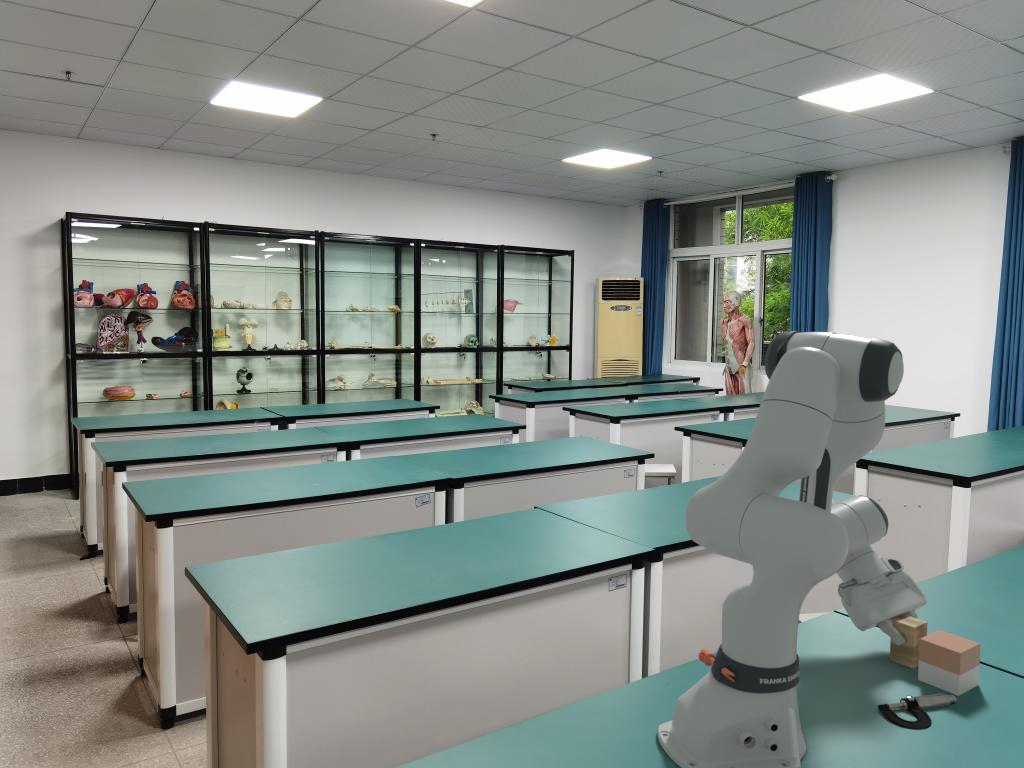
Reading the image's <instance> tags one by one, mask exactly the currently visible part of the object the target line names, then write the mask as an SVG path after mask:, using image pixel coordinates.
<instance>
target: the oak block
mask: <svg viewBox="0 0 1024 768" xmlns="http://www.w3.org/2000/svg"><path fill="white" fill-rule="evenodd" d="M891 622H892V623H893V625H892V626H893V627H894V628H895V629H896V630H898V631H899V632H900V633H901V632H903V634H904V635H905V637H906V638H907V640H908V641H907V642H906V643H904V644H902V645H899V646H898V645H896V643H895V642H894V641H893V639H892V638H891V637H890V644H889V646H890V647H889V660H890V661H893V662H896V663H899V664H900V665H903V666H906V667H908V668H910V669H915V668H917V666H919V644H920V638H923V637H925V636H927V635H928V624H929V622H928V621H925V620H922V619H919V618H918V619H917V618H914V617H911V616H908V615H905V614H904V615H901V616H899V617H896V618H893V619H891Z"/></svg>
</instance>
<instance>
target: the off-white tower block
mask: <svg viewBox="0 0 1024 768" xmlns="http://www.w3.org/2000/svg"><path fill="white" fill-rule="evenodd" d="M917 670H918V671H917V672H918V673H917V680H918V681H921V682H923V683H925V684H927V685H928V684H929V685H930V686H933V687H936V688H938V689H940V690H943V691H946V692H947V693H950V694H951V695H954V696H957V697H959V696H962V695H963V694H965V693H967V692H969V691H970V690H972V689H974V688H976V687H978V686H979V679H980V678H979V677H980V665H979V666H977V667H975V668H973V669H971V670H969V671H967V672H966V673H964V674H962V675H957V674H954V673H952V672H949V671H947V670H944V669H941V668H939V667H936V666H933V665H931V664H928V663H925V662H923V661H920V660H919V666H918V669H917Z"/></svg>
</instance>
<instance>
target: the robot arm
mask: <svg viewBox="0 0 1024 768" xmlns="http://www.w3.org/2000/svg"><path fill="white" fill-rule="evenodd" d="M904 368H905V365H904V360H903V354H902V352H901V350H900V348H899V347H898V346H897V345H896V344H895V342H892V341H890V340H887V339H883V338H878V337H873V338H868V337H863V336H859V335H857V336H856V335H851V334H841V333H837V332H833V331H832V332H831V331H830V332H827V331H804V332H800V331H799V330H793V331H792V330H791V331H790V330H789V331H786V332H781V333H778V335H776V336H775V337H774V338H773V339H772V340H771V341H770V342H769V344H768V346H767V348H766V351H765V355H764V372H765V375H766V377H767V378H768V383H767V386H766V388H765V389H764V393H763V396H762V398H761V400H760V401H761V402H760V404H759V408H758V410H757V415H756V418H755V420H754V423H753V425H752V429H751V430H750V433H749V436H748V439H747V441H746V443H745V446H744V447H743V450H742V452H741V453H740V455H739V456H738V457H737V458H736V460H735V461H734V463H733V464H732V465H731V466H730V467H729V468H728V469H727V471H726V472H725V473H723V474H722V475H721V476H720V477H719V478H718V479H716V480H715V481H713V482H712V483H710V484H708V485H706V486H703V487H701V488H699V489H698V490H696V491H695V493H694V494H693V495H692V496H691V497H690V499H689V500H688V502H687V505H686V508H685V511H684V525H685V529H686V532H687V534H688V536H689V538H690V539H691V540H692V541H693V542H694V543H696V544H698V545H699V546H701V547H703V548H704V549H706V550H708V551H710V552H712V553H714V554H715V555H719V556H722V557H726V558H729V559H732V560H736V561H739V562H742V563H745V564H749V565H751V566H752V570H753V575H752V580H751V582H750V583H746V584H743V585H741V586H738V587H735V588H733V589H732V590H731V591H729V593H728V594H727V595H726V597H725V598H724V600H723V602H722V605H721V607H722V608H721V644H719V647H718V649H717V651H716V653H715V655H714V653H711V652H710V651H709V650H708V649H706V648H702V649H701V650H699V652H698V656H697V657H698V660H699V661H700V662H702V663H704V665H705V666H707V667H710V671H709V672H707V674H705V675H704V676H703V677H702V678H700V679H699V680H698V681H697V682H696V683H694V684H693V685H692V686H691V687H690V688H689V689H688V690H686V691H685V692H684V693H682V694H681V695H680V696H679V697H678V698H677V700H676V703H675V706H674V709H673V715H672V720H669V721H666V722H663V723H660V724H659V725H658V729H657V740H658V742H659V744H660V746H661V748H662V749H663V750H664V752H665V753H666V754H667V755H668V757H669V758H670V759H671V760H672V761H673V762H674V763H675V764H677V766H678V767H680V768H802V764H801V760H802V758H803V757H804V756H805V753H806V750H807V744H806V741H805V738H804V734H803V730H802V726H801V719H800V712H799V702H798V689H797V688H798V687H797V686H798V685H799V682H800V657H799V654H798V653H797V650H798V649H797V648H798V633H799V622H800V613H801V609H802V607H803V603H804V602H805V599H806V597H807V596H808V594H809V593H810V592H811V590H813V589H814V587H815V586H816V585H817V586H818V584H820V583H821V582H823V581H825V580H827V579H829V578H831V577H833V576H834V575H835V574H837V576H838V577H839V579H840V580H841V581H842V582H840V583H839V584H838V586H837V594H838V596H839V597H840V601H841V603H842V606H843V608H844V610H845V611H846V613H847V615H848V617H849V619H850V620H851V622H852V623H853V625H854V627H855V628H856V629H858V630H860V631H861V632H864V631H865V632H866V631H867V630H870V629H872V628H875V627H878V628H879V629H880V631H882V633H884V634H885V635H886V636H887V637H889V638H890V639H891V638H892V639H893V641H894V642H895V643H896V645H898V646H899V645H902V644H904V643H906V642H907V641H908V640H907V638H906V637H905V635H904V634H903V632H901V633H900V632H899V631H898V630H896V629H895V628H894V627H893V626H892V625H893V623H892V622H891V619H893V618H896V617H899V616H901V615H904V614H905V615H908V616H911V617H914V618H917V619H919V617H918V615H917V613H916V612H917V611H919V610H921V609H922V608H924V607H925V606H926V605H927V604H928V601H927V598H926V595H925V594H924V592H923V591H922V590H921V588H920V587H919V585H918V584H917V583H916V582H915V580H914V578H913V577H912V576H911V575H910V574H908V572H906V571H903V570H905V565H903V563H902V562H901V561H900V560H899V559H896V558H889V557H884V556H883V555H881V556H879V554H878V553H877V552H876V550H875V549H874V548H873V547H872V546H871V545H873V544H875V543H877V542H880V541H881V540H882V539H883V538H884V537H885V536H887V533H888V530H889V518H888V516H887V513H886V512H885V511H884V509H883V507H882V506H881V505H880V504H879V503H877V501H875V500H874V499H872V498H871V497H869V496H866V495H863V494H860V495H859V494H858V495H856V496H851V497H849V498H846V499H843V500H837V501H836V500H834V499H833V495H834V488H835V485H836V483H837V482H838V480H839V479H840V477H841V476H842V475H843V474H844V473H845V472H846V471H848V470H849V468H850V467H852V466H853V465H854V464H855V463H857V462H858V461H859V460H861V459H862V458H863V457H865V456H867V455H868V454H869V453H870V452H872V451H873V450H874V449H875V448H876V446H878V445H879V443H880V442H881V441H882V440H881V439H882V437H883V434H884V431H885V427H886V405H885V404H886V402H885V401H886V400H888V399H890V398H892V397H893V396H895V395H896V393H897V392H898V389H899V388H900V385H901V383H902V380H903V377H904V371H905V369H904ZM798 480H801V481H800V491H799V499H798V500H797V499H796V500H795V499H792V498H787V497H782V496H780V494H781V493H782V492H783V491H784V490H785V489H786V488H787V487H788V486H789V485H791V484H793V482H796V481H798Z"/></svg>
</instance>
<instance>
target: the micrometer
mask: <svg viewBox="0 0 1024 768" xmlns="http://www.w3.org/2000/svg"><path fill="white" fill-rule="evenodd" d="M956 703H957V697H956V695H955V694H949V695H947V693H945V692H941V693H940V692H939V693H934V694H925V695H919V696H912V695H910V694H907V695H906V696H905V697H904V698H901V699H899V702H896V703H889V704H888V703H884V704H883V703H882V704H878V705H877V710H878V711H879V712H881V713H882V714H883V716H884V718H885V719H886V720H887V721H888V722H890V723H891V724H894V725H896V726H898V727H901V728H905V729H909V730H917V731H918V730H920V731H921V730H926V729H929V728H930V727H931V726H932V719H931V717H930V715H929V714H928V713H927V712H926V711H925V709H926V710H927V709H934V708H939V707H940V708H941V707H949V706H950V705H951V704H956ZM896 709H904V710H905V711H908V712H910V713H911V714H913V715H914V716H915V717H916V719H917V720H907V719H904V718H902V717H900V715H898V714H897V713H895V712H894V711H893V710H896Z"/></svg>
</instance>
